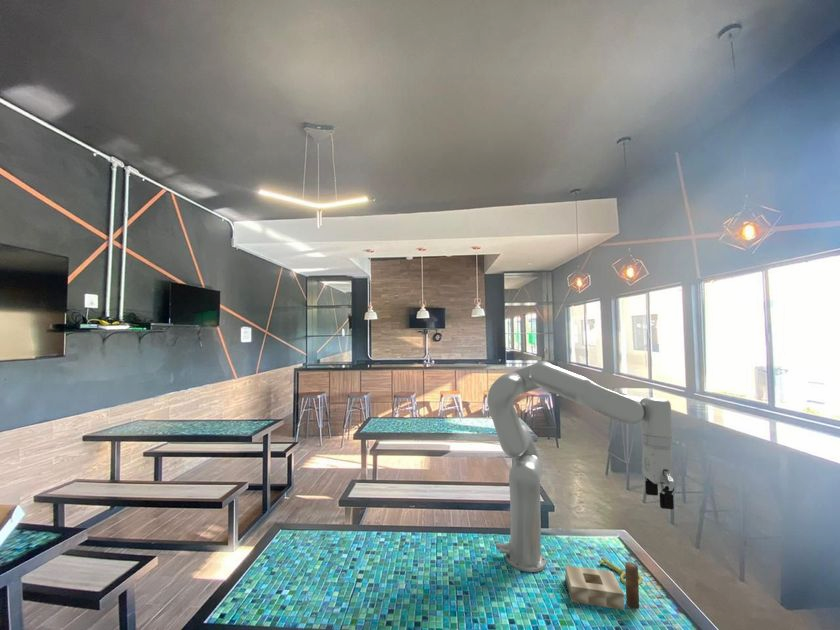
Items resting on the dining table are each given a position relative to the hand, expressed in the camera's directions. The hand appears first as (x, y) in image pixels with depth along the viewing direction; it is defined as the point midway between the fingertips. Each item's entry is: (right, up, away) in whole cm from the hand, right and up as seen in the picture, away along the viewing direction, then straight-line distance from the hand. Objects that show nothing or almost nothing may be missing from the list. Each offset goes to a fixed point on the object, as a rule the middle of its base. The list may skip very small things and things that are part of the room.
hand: (659, 501), depth 107 cm
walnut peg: (-12, -24, -7) cm, 28 cm away
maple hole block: (-21, -24, -3) cm, 32 cm away
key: (-8, -26, +6) cm, 28 cm away
